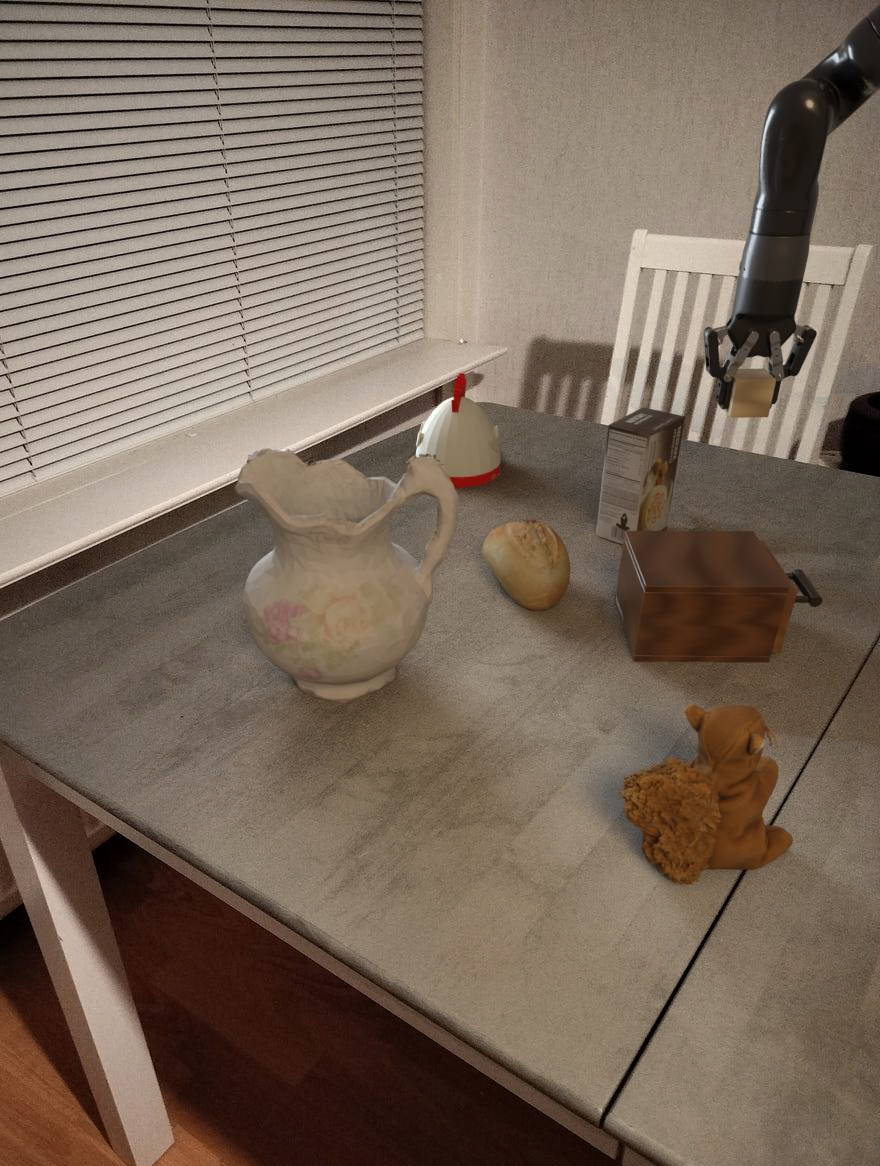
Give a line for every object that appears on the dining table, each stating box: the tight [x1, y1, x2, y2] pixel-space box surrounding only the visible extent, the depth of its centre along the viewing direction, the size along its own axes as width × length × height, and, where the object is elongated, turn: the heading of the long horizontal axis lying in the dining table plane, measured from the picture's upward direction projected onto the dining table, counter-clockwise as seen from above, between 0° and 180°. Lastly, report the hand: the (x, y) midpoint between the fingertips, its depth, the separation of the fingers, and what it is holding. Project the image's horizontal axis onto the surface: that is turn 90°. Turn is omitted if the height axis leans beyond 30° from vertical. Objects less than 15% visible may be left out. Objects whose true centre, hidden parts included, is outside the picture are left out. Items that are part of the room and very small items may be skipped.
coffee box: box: [595, 407, 686, 545], centre depth 114 cm, size 9×6×16 cm
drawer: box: [759, 539, 823, 653], centre depth 95 cm, size 18×11×8 cm, turn 87°
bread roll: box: [481, 518, 571, 611], centre depth 105 cm, size 10×15×8 cm, turn 18°
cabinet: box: [614, 530, 790, 663], centre depth 95 cm, size 15×13×10 cm
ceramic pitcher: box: [234, 447, 459, 704], centre depth 87 cm, size 22×20×25 cm
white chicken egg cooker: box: [415, 372, 502, 488], centre depth 134 cm, size 14×14×15 cm
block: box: [722, 368, 776, 419], centre depth 113 cm, size 5×5×5 cm
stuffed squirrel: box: [618, 703, 794, 886], centre depth 68 cm, size 10×14×13 cm
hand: (744, 406), depth 114 cm, fingers closed on block, 5 cm apart
